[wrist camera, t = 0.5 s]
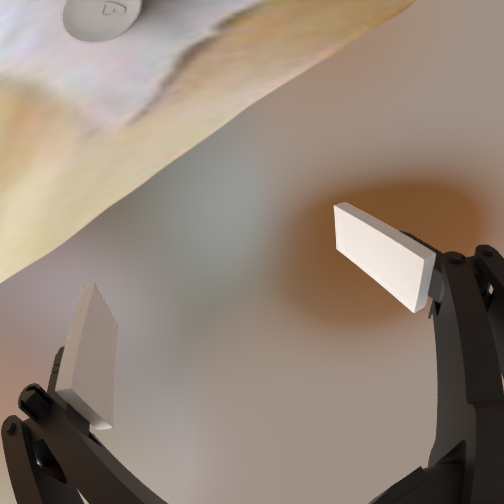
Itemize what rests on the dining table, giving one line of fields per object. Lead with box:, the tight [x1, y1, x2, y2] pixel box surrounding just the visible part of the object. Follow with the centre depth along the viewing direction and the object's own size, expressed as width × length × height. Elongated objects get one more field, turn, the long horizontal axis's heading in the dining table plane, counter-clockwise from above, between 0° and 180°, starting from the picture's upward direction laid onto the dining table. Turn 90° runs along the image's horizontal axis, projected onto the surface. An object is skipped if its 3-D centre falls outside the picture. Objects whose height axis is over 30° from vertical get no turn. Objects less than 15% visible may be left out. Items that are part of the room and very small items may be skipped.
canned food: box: [61, 0, 142, 44], centre depth 18 cm, size 8×8×11 cm
